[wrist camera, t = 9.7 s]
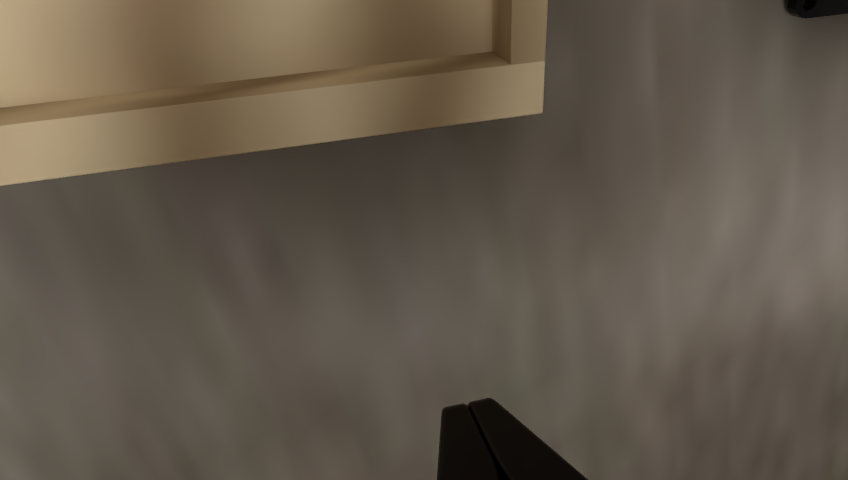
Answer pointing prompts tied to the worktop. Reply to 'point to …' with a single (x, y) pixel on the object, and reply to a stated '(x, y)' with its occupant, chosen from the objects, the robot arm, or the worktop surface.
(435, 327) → the worktop surface
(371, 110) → the wooden tray
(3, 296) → the worktop surface
